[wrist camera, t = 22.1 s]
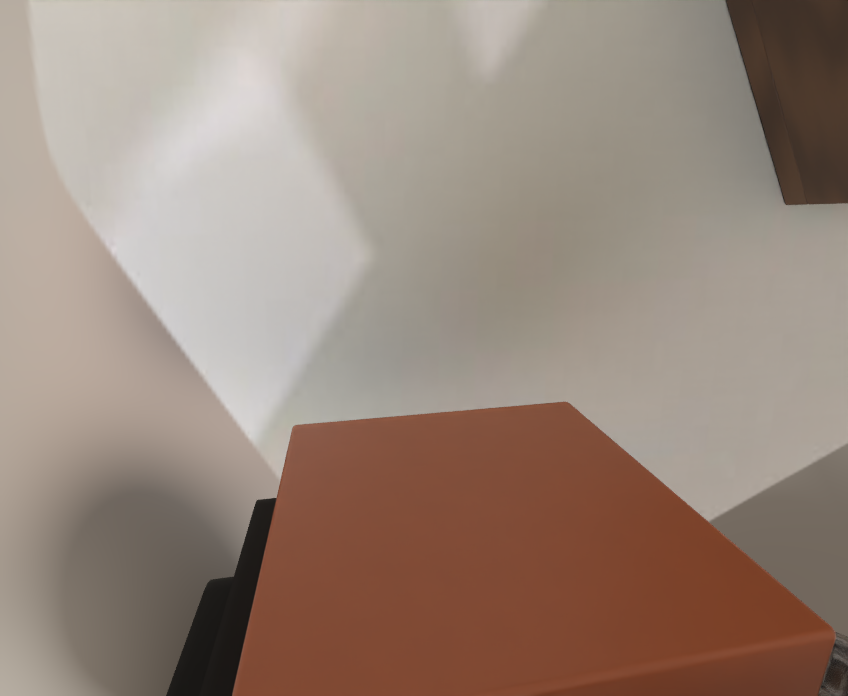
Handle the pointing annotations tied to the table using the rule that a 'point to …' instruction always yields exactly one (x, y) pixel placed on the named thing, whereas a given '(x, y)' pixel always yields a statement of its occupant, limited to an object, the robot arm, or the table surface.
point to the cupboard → (800, 90)
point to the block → (507, 571)
